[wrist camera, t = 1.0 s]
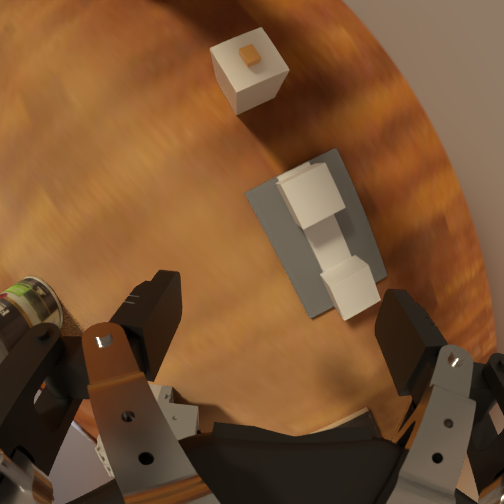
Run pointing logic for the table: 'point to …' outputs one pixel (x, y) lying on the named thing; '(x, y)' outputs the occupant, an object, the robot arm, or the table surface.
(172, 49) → the table surface
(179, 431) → the circuit breaker
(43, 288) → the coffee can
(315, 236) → the rail board
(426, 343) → the robot arm
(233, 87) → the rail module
